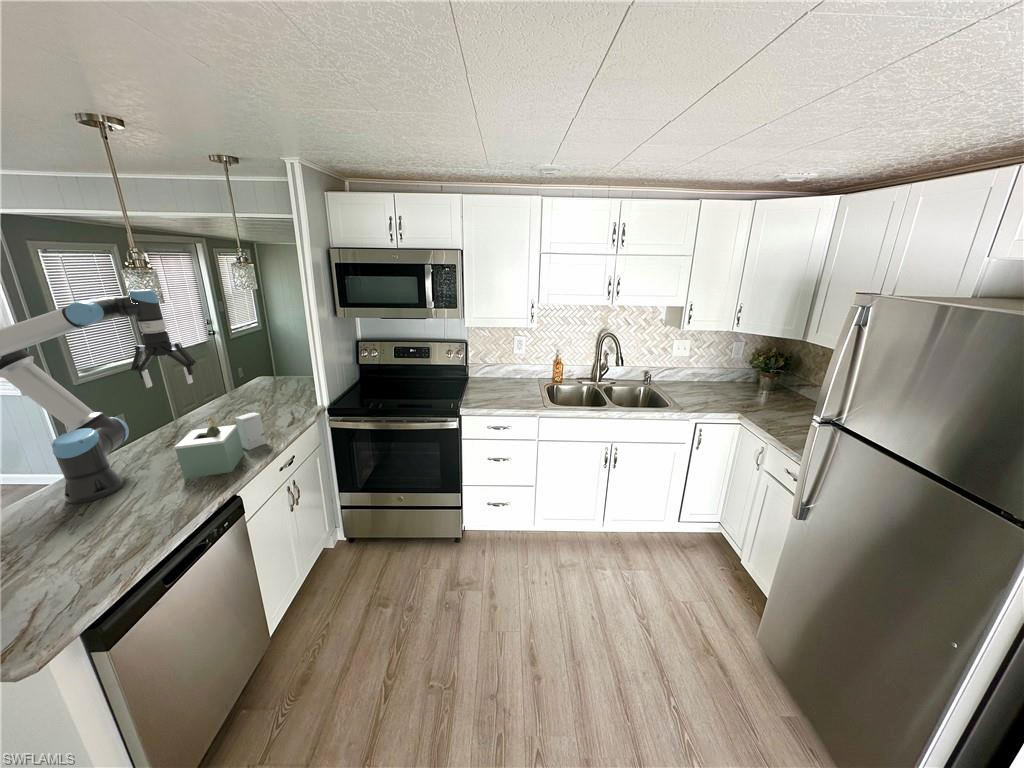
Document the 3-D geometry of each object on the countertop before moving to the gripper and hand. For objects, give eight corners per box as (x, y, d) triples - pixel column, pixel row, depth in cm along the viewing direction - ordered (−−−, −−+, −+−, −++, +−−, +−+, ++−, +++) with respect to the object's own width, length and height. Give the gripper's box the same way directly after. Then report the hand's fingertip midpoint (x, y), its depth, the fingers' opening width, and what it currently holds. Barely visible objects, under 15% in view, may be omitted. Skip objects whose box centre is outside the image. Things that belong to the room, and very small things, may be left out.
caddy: (184, 478, 156) (174, 446, 152) (201, 459, 171) (192, 430, 167) (231, 472, 161) (222, 440, 156) (244, 453, 175) (236, 424, 171)
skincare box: (248, 450, 178) (241, 420, 174) (241, 447, 181) (233, 417, 176) (267, 443, 185) (260, 413, 180) (260, 440, 188) (253, 411, 183)
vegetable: (222, 462, 168) (222, 416, 163) (215, 466, 163) (215, 420, 159) (211, 460, 167) (211, 415, 163) (204, 465, 163) (203, 418, 159)
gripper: (107, 335, 144) (126, 391, 151) (188, 330, 151) (203, 384, 158) (119, 332, 151) (137, 385, 158) (196, 327, 158) (210, 378, 164)
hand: (170, 384), depth 158 cm, fingers open, 13 cm apart
